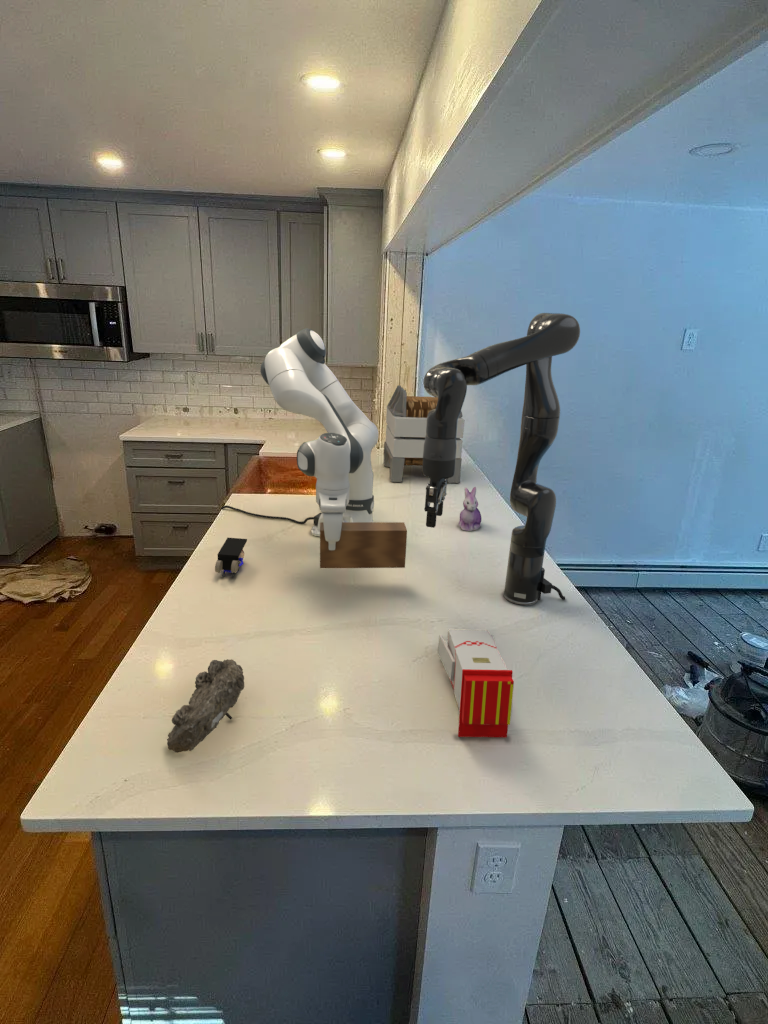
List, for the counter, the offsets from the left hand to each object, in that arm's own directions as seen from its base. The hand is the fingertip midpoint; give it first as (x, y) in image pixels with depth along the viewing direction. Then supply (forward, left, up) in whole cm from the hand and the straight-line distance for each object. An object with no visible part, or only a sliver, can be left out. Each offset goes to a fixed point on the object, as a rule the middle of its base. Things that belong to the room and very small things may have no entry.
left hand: (331, 543), depth 154 cm
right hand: (+29, -7, +13) cm, 33 cm away
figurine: (+30, +63, -14) cm, 71 cm away
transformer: (-3, +127, -14) cm, 128 cm away
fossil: (-2, -57, -14) cm, 58 cm away
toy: (+44, -33, -14) cm, 56 cm away
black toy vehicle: (-31, +1, -14) cm, 34 cm away
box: (+8, +3, -6) cm, 10 cm away
